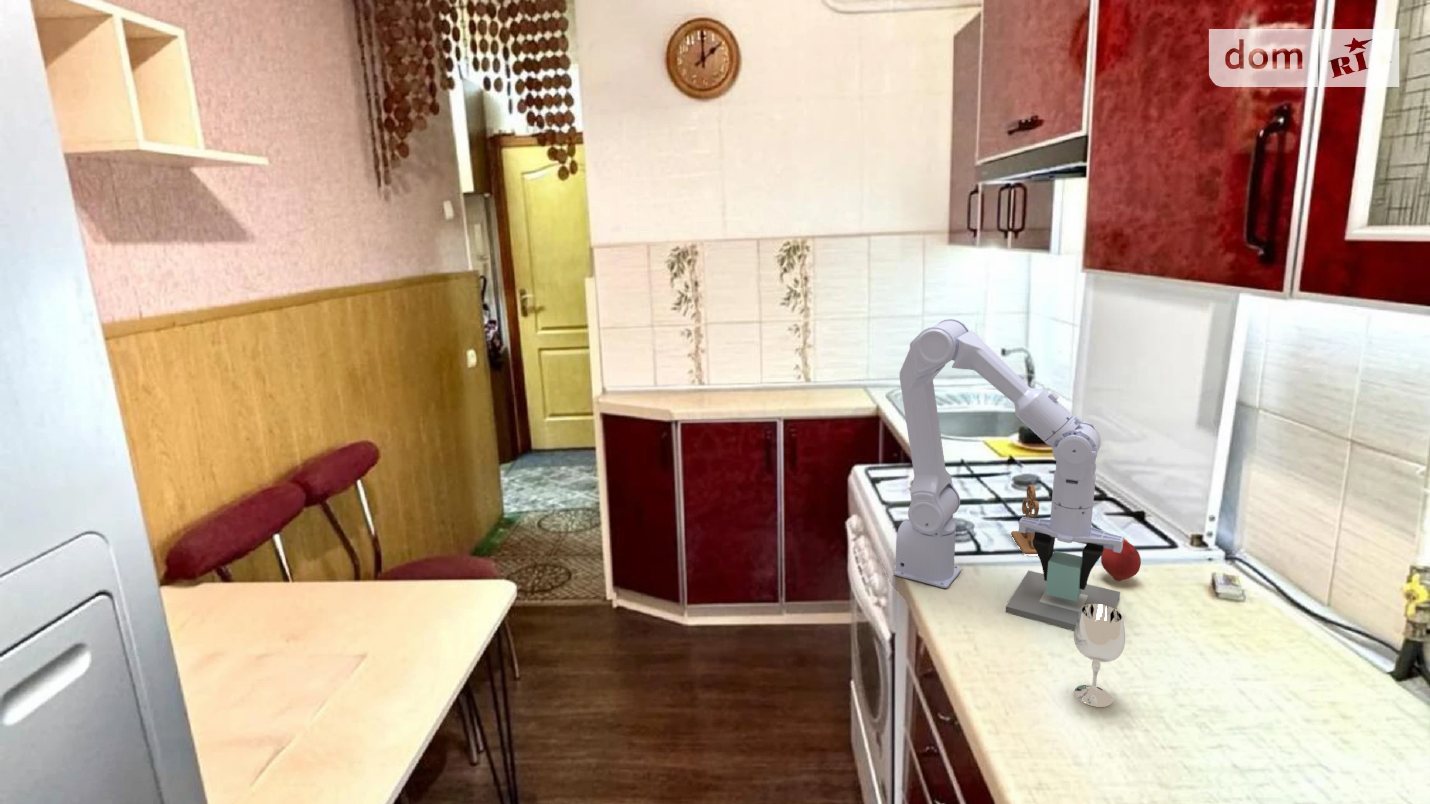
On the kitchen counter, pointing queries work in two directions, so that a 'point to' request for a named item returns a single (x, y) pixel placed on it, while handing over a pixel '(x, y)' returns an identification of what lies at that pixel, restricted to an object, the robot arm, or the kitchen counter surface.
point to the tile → (1055, 601)
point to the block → (1064, 576)
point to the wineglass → (1098, 646)
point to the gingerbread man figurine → (1027, 538)
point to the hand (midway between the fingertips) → (1065, 582)
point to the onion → (1121, 562)
